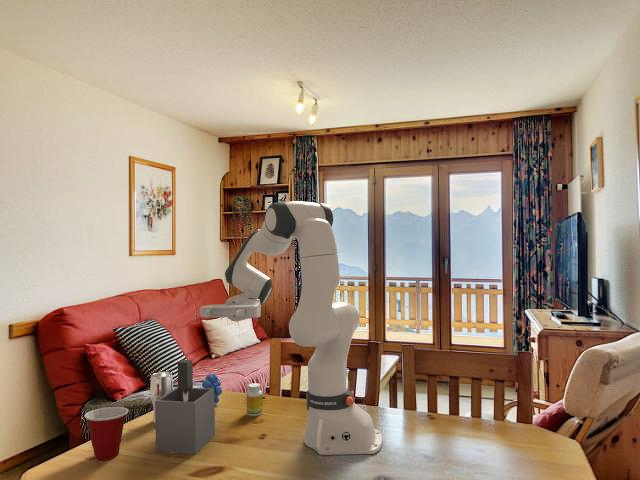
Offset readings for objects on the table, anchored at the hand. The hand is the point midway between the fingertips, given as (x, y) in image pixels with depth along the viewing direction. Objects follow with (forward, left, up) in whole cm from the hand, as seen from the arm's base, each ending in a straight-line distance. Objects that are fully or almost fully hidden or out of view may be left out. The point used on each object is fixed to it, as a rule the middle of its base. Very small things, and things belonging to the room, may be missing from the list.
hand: (221, 314), depth 141 cm
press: (+4, +16, -35) cm, 38 cm away
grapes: (+8, -11, -35) cm, 37 cm away
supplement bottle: (-8, -8, -35) cm, 36 cm away
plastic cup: (+22, +26, -35) cm, 49 cm away
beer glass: (+20, +2, -35) cm, 40 cm away
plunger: (+4, +16, -33) cm, 37 cm away
